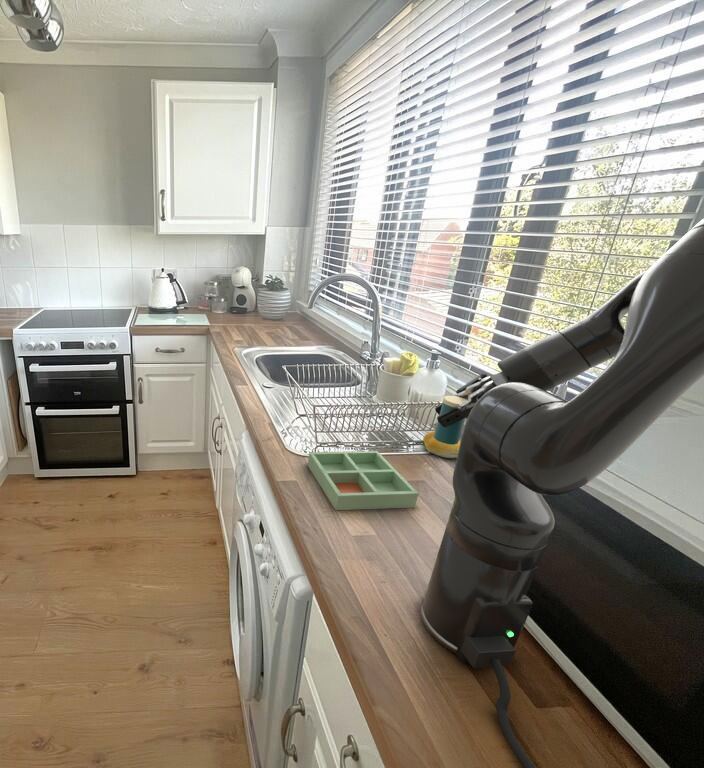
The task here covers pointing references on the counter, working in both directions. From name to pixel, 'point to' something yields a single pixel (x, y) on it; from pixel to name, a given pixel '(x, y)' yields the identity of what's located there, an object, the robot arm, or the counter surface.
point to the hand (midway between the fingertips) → (439, 417)
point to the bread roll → (440, 446)
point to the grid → (361, 480)
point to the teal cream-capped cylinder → (452, 431)
